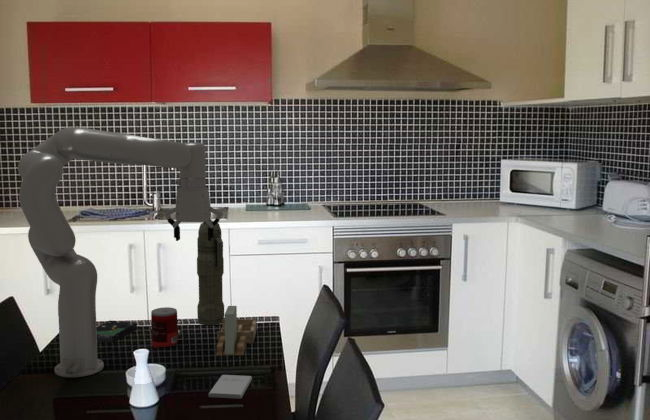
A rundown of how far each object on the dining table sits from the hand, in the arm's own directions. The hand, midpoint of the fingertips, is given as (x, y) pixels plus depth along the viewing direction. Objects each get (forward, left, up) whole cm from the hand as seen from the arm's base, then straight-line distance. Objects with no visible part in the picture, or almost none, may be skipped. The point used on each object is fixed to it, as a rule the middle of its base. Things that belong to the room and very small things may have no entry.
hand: (193, 240), depth 196 cm
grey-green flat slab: (-8, -12, -31) cm, 35 cm away
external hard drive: (-35, -15, -33) cm, 51 cm away
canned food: (-2, +9, -32) cm, 34 cm away
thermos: (+20, -2, -32) cm, 38 cm away
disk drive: (+10, +29, -33) cm, 45 cm away
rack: (+4, -12, -32) cm, 35 cm away
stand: (-8, -12, -32) cm, 35 cm away
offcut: (+1, -10, -29) cm, 31 cm away
